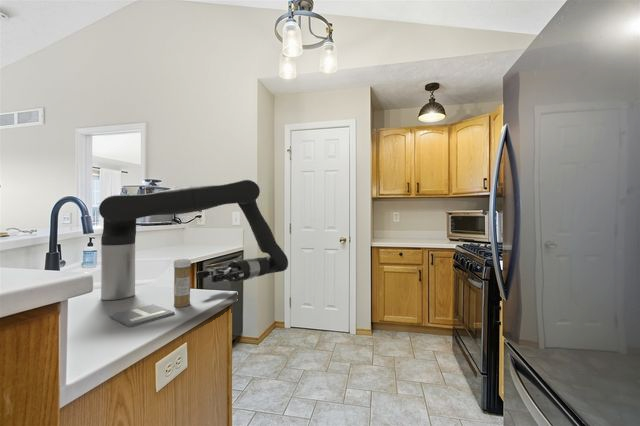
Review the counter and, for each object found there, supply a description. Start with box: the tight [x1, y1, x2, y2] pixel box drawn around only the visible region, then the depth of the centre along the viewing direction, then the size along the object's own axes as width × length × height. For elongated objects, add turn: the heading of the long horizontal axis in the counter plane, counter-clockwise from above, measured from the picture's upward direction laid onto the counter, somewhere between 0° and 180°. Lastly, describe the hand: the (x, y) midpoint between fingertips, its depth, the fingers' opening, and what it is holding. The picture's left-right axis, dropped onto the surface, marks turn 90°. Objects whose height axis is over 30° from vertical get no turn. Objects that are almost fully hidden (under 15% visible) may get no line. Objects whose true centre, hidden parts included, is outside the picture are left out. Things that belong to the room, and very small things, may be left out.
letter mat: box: [108, 303, 175, 328], centre depth 77 cm, size 12×11×1 cm
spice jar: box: [173, 258, 192, 308], centre depth 86 cm, size 5×5×14 cm
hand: (204, 277), depth 93 cm, fingers open, 8 cm apart
